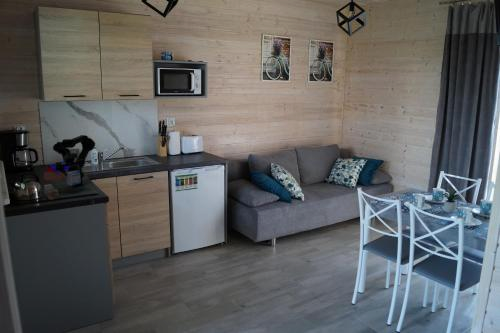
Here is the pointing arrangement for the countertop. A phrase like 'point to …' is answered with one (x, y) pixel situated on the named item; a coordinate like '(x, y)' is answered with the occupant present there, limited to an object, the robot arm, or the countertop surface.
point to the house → (54, 173)
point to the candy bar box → (74, 152)
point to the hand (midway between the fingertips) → (73, 174)
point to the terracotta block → (47, 186)
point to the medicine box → (73, 177)
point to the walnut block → (53, 194)
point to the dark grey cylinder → (48, 189)
